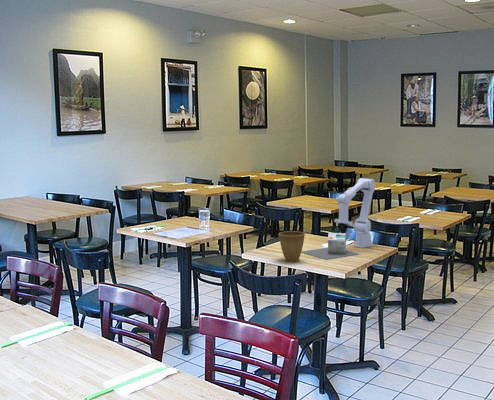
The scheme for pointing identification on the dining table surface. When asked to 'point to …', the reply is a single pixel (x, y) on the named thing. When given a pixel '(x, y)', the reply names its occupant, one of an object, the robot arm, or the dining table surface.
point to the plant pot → (291, 244)
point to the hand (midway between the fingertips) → (343, 235)
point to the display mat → (327, 253)
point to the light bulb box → (337, 242)
